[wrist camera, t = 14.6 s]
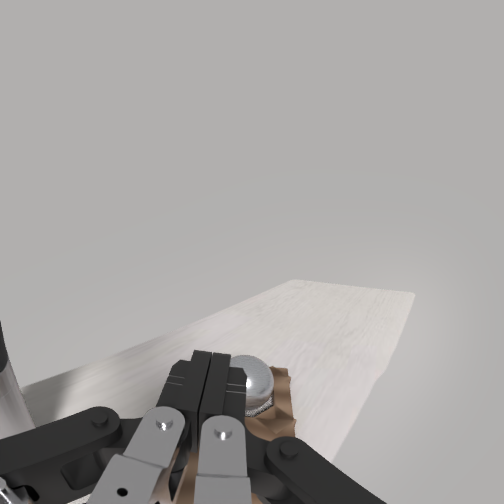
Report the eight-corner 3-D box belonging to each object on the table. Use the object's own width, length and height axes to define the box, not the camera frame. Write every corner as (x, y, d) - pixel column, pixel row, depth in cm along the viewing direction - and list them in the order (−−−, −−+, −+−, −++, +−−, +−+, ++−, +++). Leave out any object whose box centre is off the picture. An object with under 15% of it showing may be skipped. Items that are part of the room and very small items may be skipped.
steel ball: (209, 349, 53) (203, 401, 51) (235, 359, 45) (228, 420, 43) (257, 352, 58) (251, 401, 56) (289, 360, 49) (281, 416, 47)
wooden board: (303, 520, 28) (307, 515, 28) (155, 506, 28) (154, 500, 27) (288, 374, 61) (289, 367, 61) (196, 365, 61) (196, 357, 61)
